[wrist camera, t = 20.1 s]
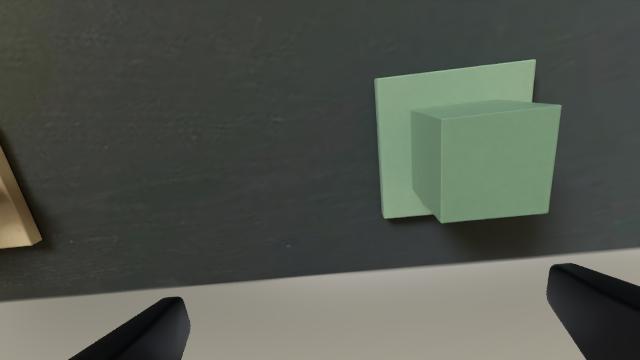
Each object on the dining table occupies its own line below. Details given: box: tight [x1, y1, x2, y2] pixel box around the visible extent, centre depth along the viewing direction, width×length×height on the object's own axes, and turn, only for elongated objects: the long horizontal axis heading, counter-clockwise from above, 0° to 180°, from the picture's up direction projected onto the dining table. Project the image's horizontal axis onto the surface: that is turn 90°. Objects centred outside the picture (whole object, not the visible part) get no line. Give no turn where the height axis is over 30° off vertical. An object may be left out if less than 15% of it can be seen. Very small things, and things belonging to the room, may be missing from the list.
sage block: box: [411, 99, 561, 223], centre depth 14 cm, size 4×4×4 cm
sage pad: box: [374, 59, 536, 219], centre depth 17 cm, size 8×8×1 cm
